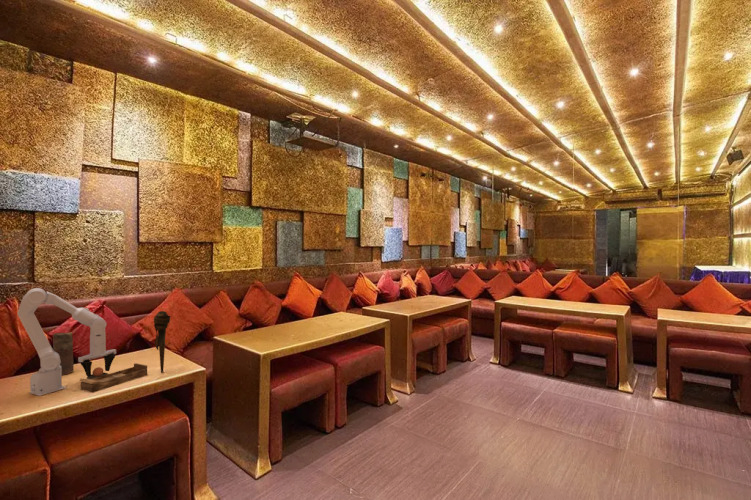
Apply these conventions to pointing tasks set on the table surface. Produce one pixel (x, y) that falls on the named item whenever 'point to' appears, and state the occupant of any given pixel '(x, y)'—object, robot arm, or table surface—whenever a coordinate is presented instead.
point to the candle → (64, 350)
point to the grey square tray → (96, 376)
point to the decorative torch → (161, 334)
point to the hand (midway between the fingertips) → (98, 373)
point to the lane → (114, 378)
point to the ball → (97, 371)
